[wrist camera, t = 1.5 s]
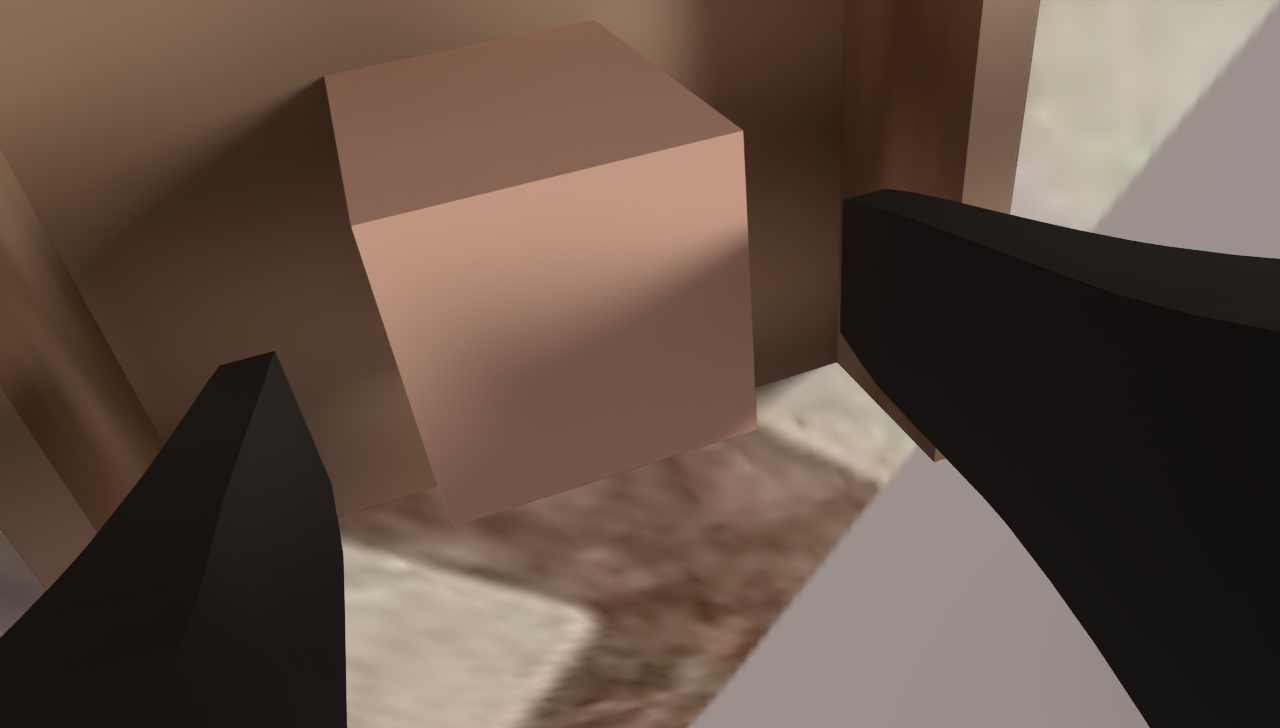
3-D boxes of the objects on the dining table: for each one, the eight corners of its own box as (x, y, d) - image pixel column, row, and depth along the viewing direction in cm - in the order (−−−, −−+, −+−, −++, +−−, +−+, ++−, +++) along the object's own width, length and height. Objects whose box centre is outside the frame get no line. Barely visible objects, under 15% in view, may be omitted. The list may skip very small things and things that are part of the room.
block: (626, 254, 18) (756, 429, 13) (400, 314, 17) (451, 527, 12) (593, 19, 15) (743, 130, 10) (323, 75, 14) (350, 225, 9)
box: (861, 338, 22) (976, 447, 18) (175, 547, 18) (152, 731, 15) (890, -417, 14) (1109, -486, 10) (-324, -285, 10) (-635, -319, 7)
